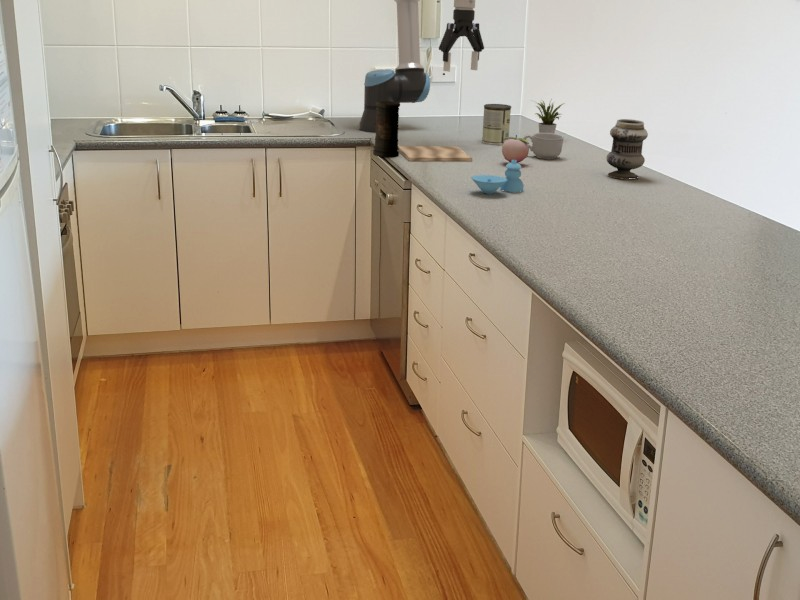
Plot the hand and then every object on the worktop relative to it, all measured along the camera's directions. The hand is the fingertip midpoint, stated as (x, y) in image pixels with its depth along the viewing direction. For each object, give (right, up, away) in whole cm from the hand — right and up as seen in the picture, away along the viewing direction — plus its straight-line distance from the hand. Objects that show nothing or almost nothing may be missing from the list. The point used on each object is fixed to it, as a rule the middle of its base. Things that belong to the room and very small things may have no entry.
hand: (460, 70), depth 328 cm
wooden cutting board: (-10, -32, -10) cm, 35 cm away
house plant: (+35, -19, +32) cm, 51 cm away
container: (-27, -33, -13) cm, 44 cm away
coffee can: (+15, -23, +20) cm, 34 cm away
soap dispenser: (+7, -51, -62) cm, 81 cm away
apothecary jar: (+51, -43, -33) cm, 74 cm away
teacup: (+29, -32, -5) cm, 44 cm away
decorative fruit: (+17, -37, -21) cm, 46 cm away
